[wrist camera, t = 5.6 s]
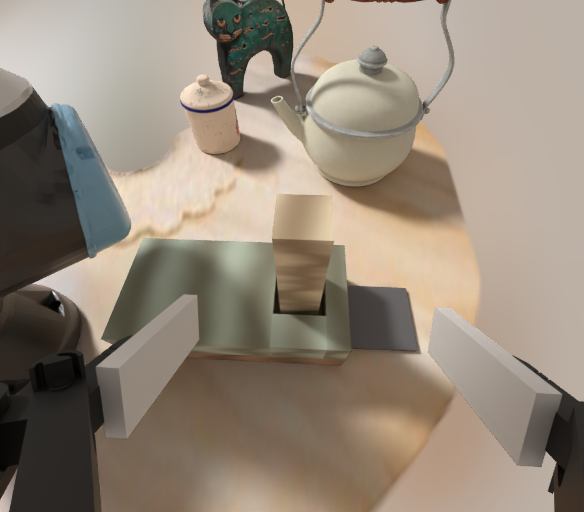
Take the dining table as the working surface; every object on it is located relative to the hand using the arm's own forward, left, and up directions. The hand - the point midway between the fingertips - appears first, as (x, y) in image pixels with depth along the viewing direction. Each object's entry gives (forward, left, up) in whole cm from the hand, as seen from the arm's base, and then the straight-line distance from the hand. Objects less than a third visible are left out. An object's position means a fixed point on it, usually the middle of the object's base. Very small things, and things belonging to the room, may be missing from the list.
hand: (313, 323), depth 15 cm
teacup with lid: (-19, +43, -19) cm, 51 cm away
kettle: (+6, +37, -19) cm, 42 cm away
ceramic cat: (-13, +64, -19) cm, 68 cm away
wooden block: (-1, +7, -16) cm, 17 cm away
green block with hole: (-8, +7, -19) cm, 21 cm away
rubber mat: (+9, +7, -19) cm, 22 cm away
